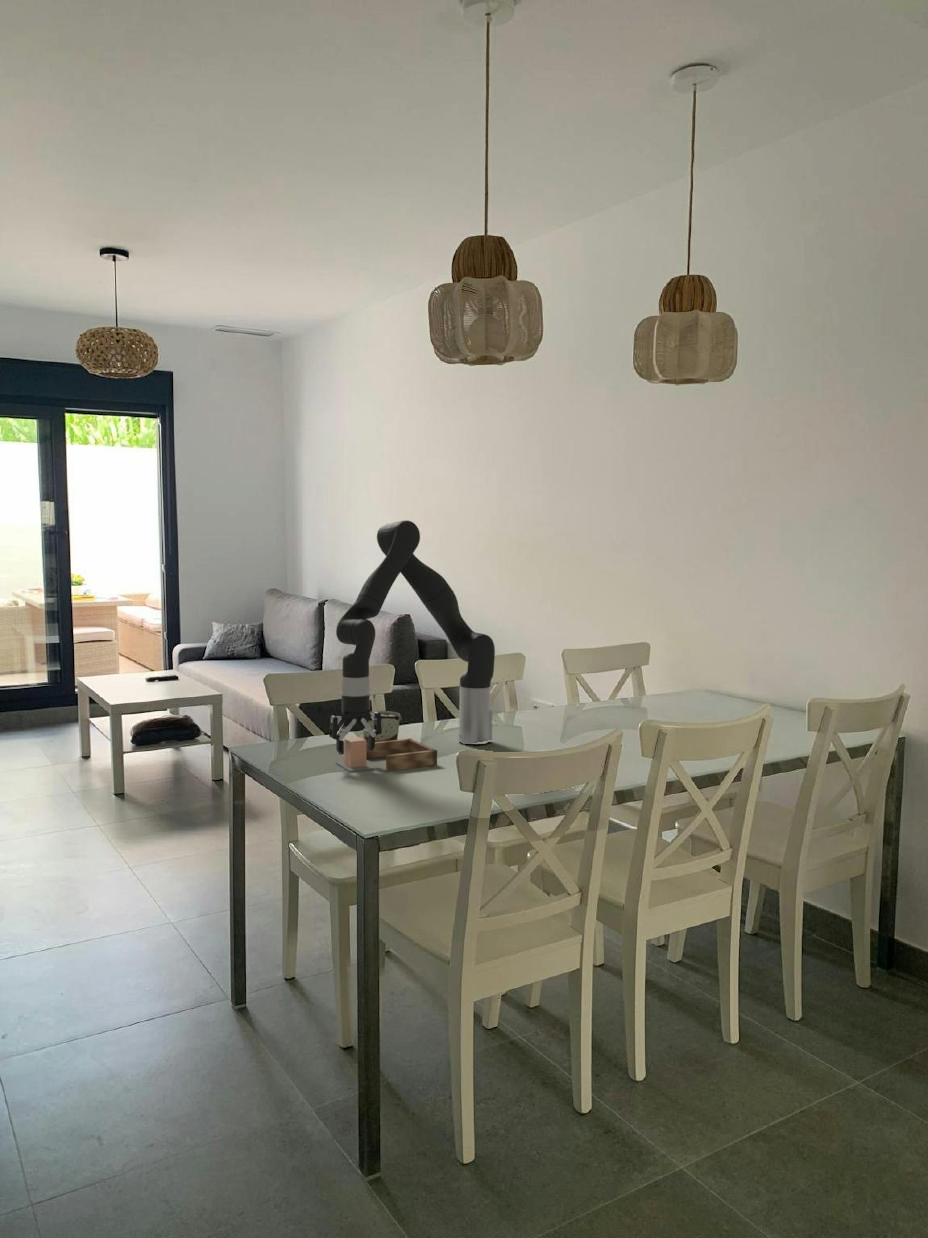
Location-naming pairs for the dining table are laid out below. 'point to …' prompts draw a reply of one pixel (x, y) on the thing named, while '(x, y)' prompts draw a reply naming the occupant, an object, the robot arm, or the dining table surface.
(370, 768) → the grey mat
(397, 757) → the open box
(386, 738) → the food container
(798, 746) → the dining table surface
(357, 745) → the terracotta block
